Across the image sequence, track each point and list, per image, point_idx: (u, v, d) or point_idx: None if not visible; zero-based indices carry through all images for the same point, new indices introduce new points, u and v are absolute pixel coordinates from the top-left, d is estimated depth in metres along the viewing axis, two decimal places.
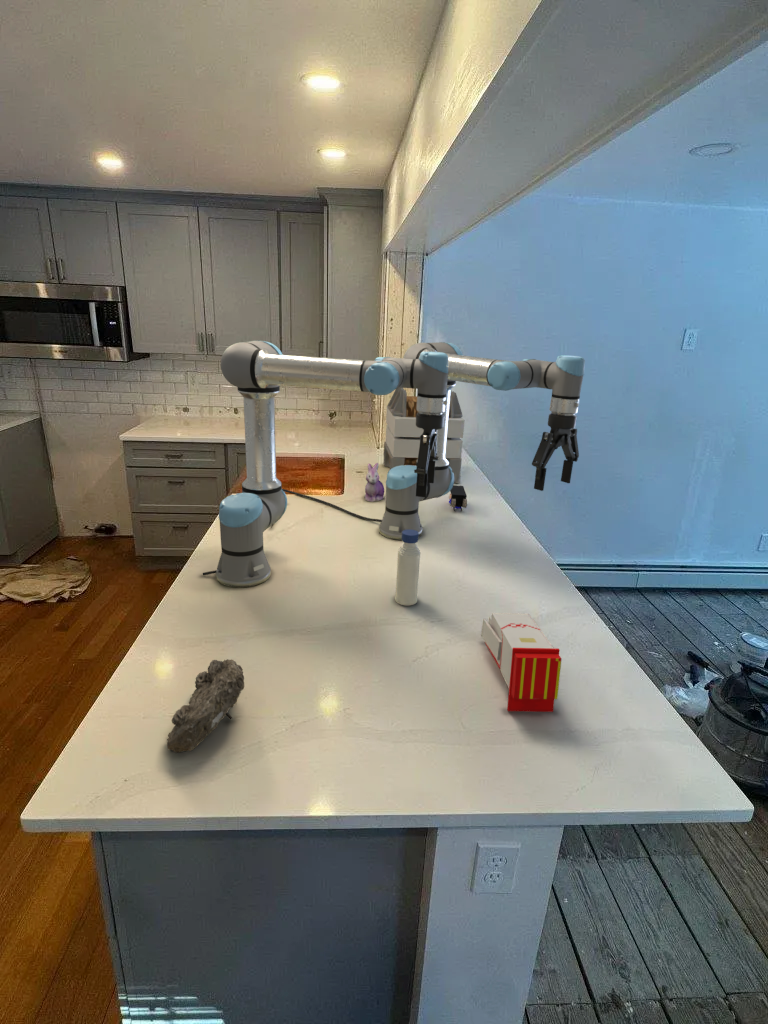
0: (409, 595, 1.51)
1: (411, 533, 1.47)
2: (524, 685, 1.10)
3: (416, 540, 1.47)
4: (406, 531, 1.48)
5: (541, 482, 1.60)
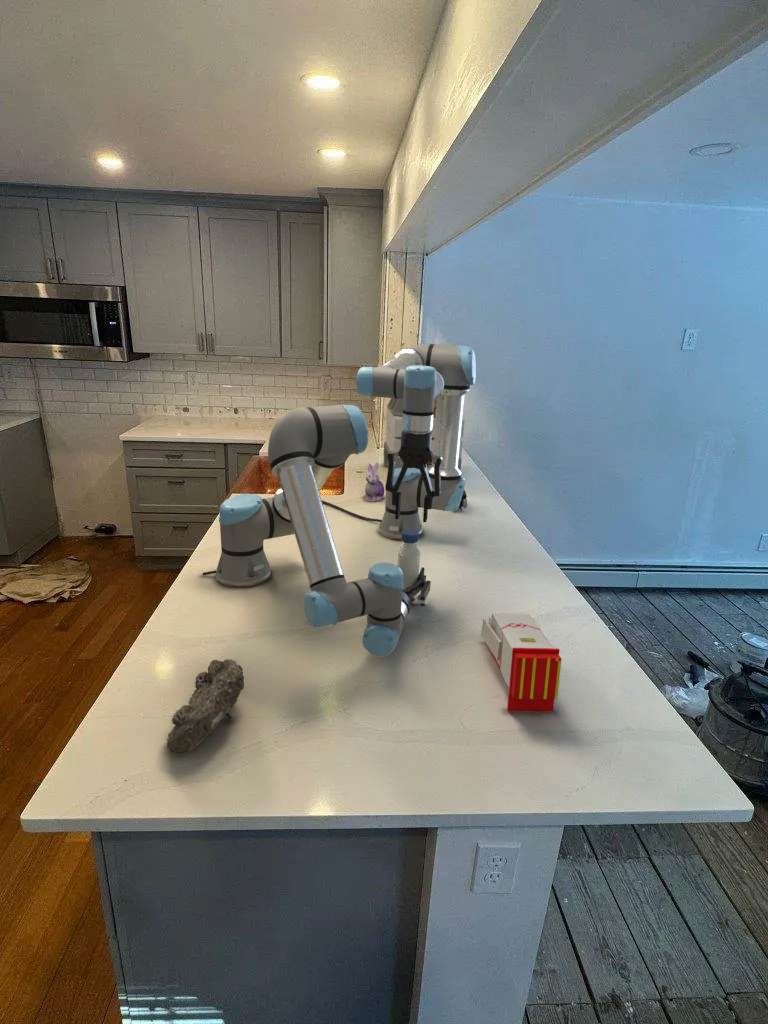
0: None
1: (411, 533, 1.47)
2: (524, 685, 1.10)
3: (416, 540, 1.47)
4: (406, 531, 1.48)
5: (427, 510, 1.46)
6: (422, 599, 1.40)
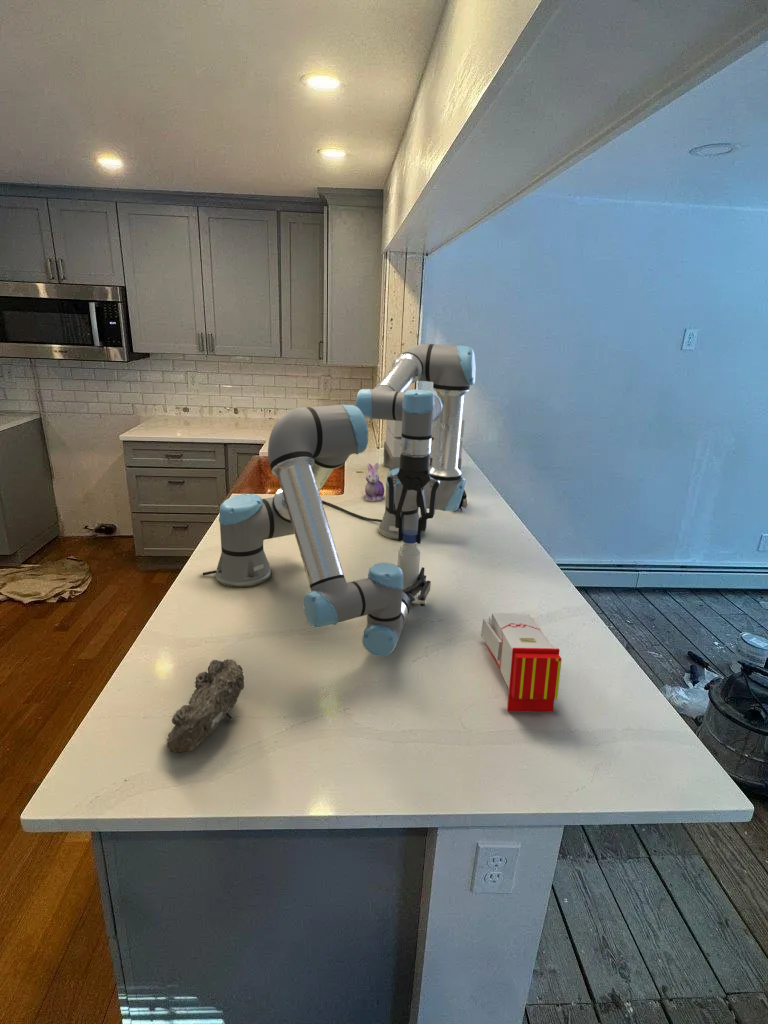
0: None
1: (411, 533, 1.47)
2: (524, 685, 1.10)
3: (416, 540, 1.47)
4: (406, 531, 1.48)
5: (421, 532, 1.48)
6: (422, 599, 1.40)
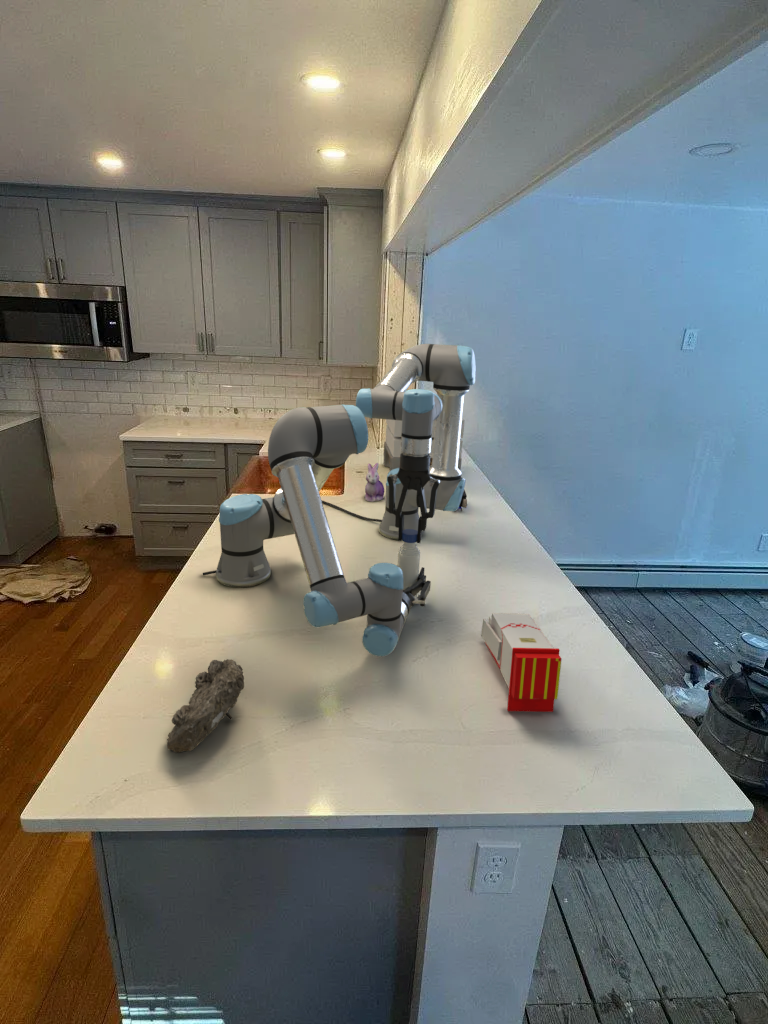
0: None
1: (412, 531, 1.48)
2: (524, 685, 1.10)
3: None
4: (409, 533, 1.47)
5: (421, 531, 1.48)
6: (422, 599, 1.40)
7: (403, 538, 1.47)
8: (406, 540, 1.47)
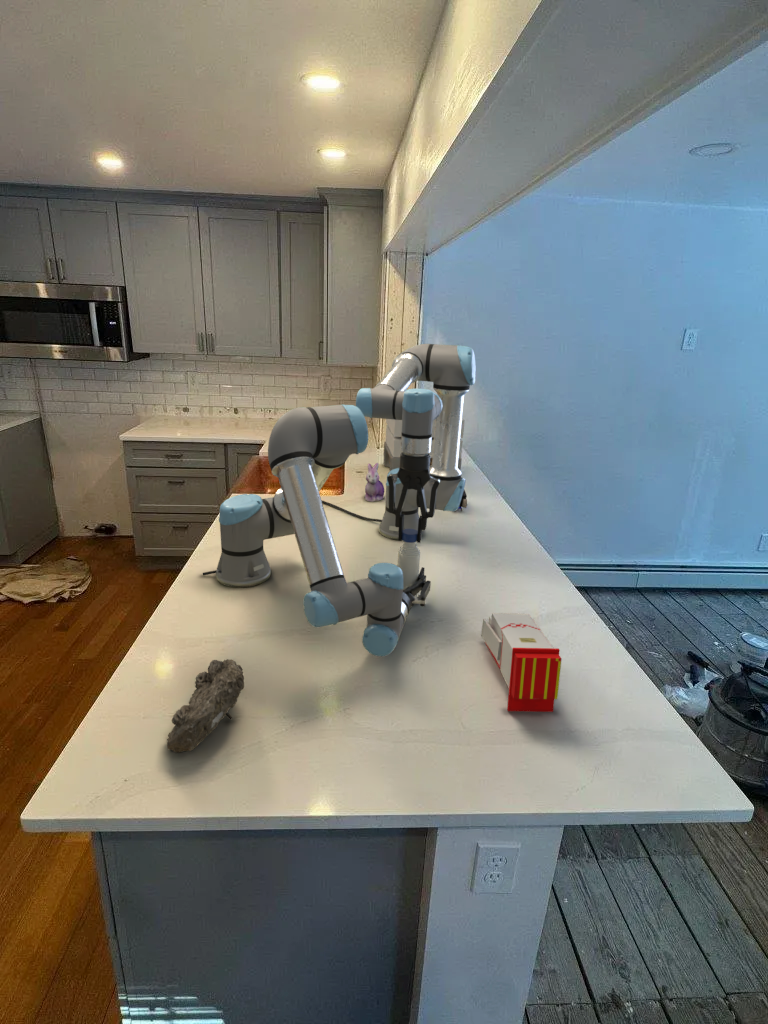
0: None
1: (407, 530, 1.48)
2: (524, 685, 1.10)
3: (402, 536, 1.48)
4: (414, 531, 1.48)
5: (421, 531, 1.48)
6: (422, 599, 1.40)
7: (416, 538, 1.47)
8: None
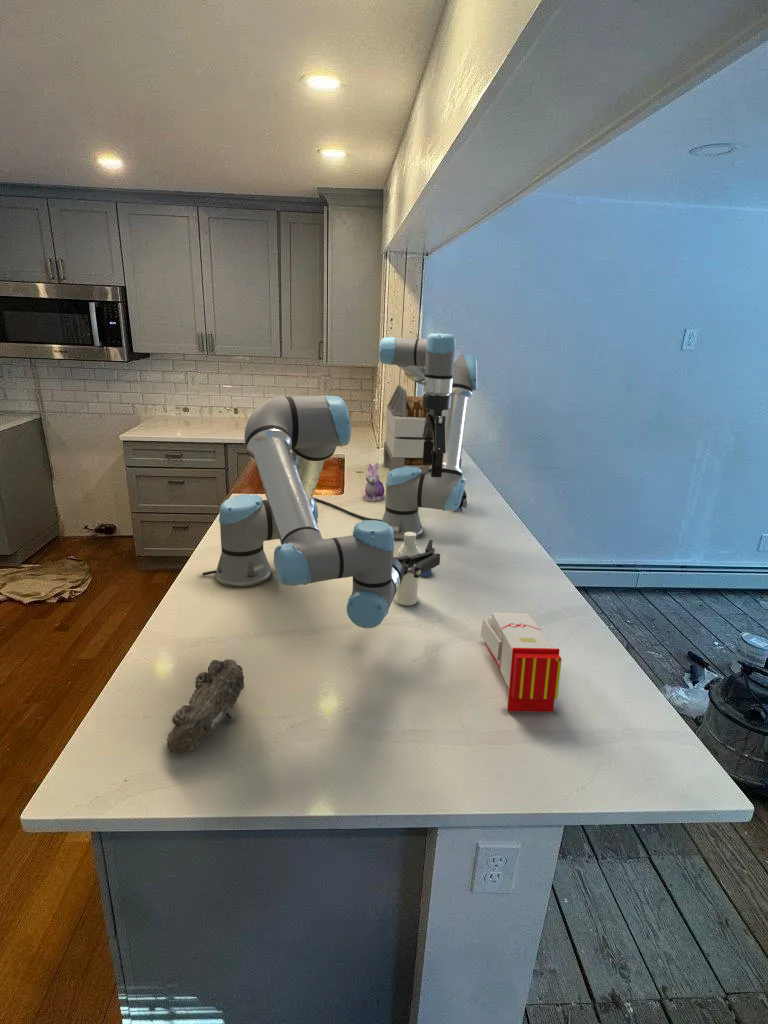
0: (409, 595, 1.51)
1: None
2: (524, 685, 1.10)
3: None
4: None
5: None
6: (415, 569, 1.22)
7: (426, 574, 1.68)
8: (429, 574, 1.69)
